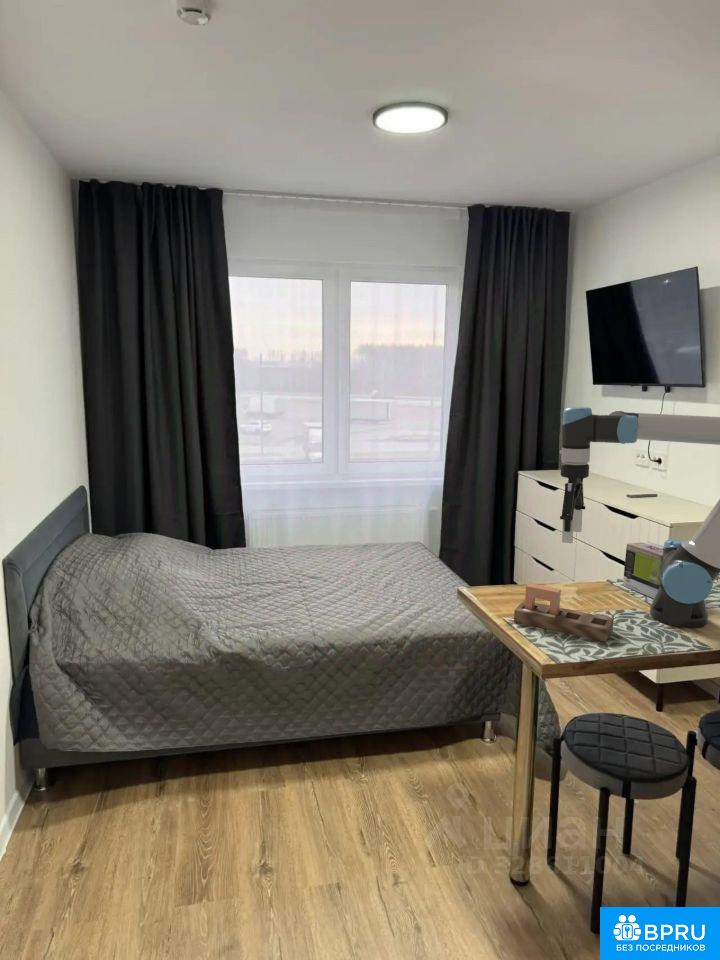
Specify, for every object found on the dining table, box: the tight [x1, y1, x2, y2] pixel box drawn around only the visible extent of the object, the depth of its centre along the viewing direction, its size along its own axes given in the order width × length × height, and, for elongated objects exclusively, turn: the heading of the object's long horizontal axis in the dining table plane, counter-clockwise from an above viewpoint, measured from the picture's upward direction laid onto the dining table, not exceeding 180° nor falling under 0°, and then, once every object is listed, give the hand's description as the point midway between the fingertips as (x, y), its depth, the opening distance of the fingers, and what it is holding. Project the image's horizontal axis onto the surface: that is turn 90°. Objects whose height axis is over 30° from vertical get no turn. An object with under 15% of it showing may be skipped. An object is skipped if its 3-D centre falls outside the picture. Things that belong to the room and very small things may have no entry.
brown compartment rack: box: [513, 599, 615, 643], centre depth 184 cm, size 25×9×4 cm, turn 59°
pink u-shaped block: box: [524, 582, 562, 616], centre depth 187 cm, size 9×3×10 cm, turn 59°
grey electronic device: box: [622, 541, 664, 599], centre depth 213 cm, size 15×10×15 cm
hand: (572, 537), depth 188 cm, fingers open, 13 cm apart
